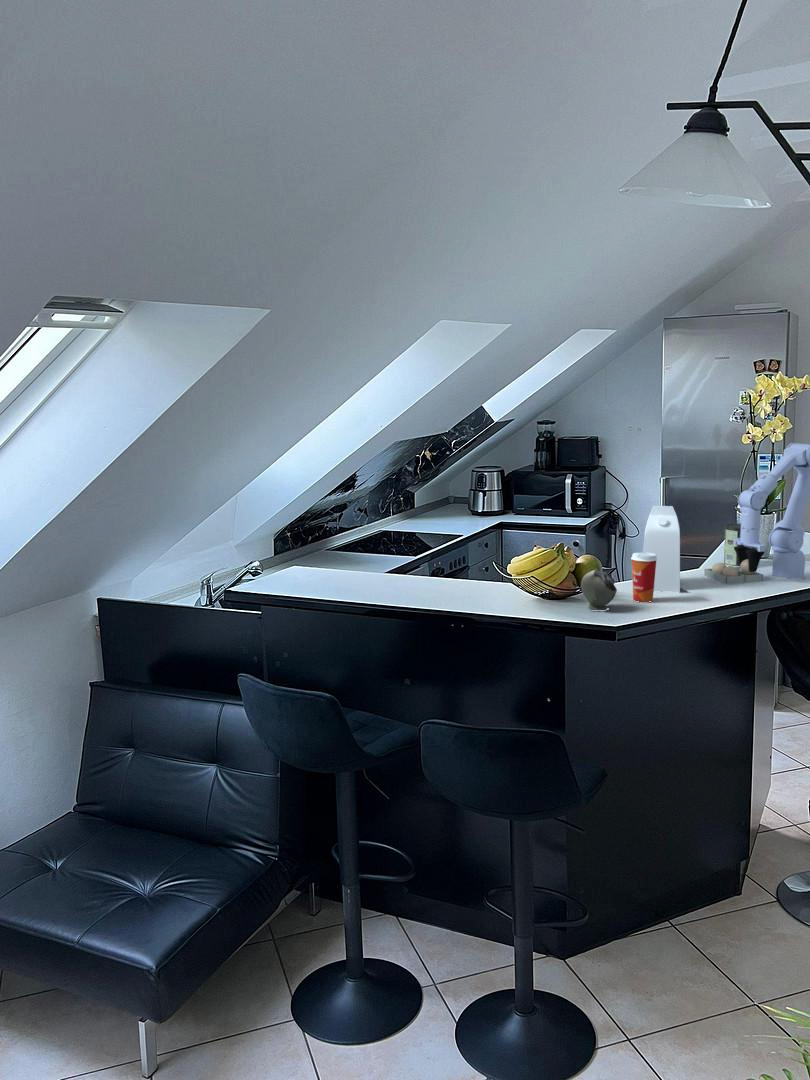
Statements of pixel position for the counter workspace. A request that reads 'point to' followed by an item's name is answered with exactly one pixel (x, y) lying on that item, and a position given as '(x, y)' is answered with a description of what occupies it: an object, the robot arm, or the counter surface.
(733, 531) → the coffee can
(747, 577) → the carton
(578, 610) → the counter surface
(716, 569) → the egg
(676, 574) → the milk
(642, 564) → the paper cup
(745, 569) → the egg
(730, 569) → the egg
